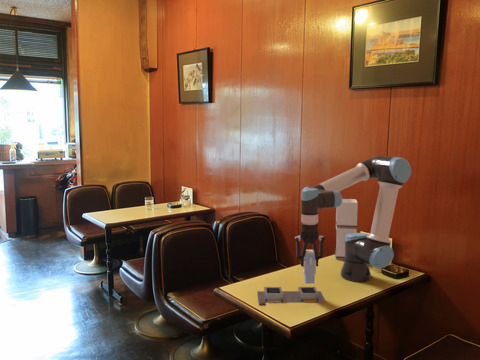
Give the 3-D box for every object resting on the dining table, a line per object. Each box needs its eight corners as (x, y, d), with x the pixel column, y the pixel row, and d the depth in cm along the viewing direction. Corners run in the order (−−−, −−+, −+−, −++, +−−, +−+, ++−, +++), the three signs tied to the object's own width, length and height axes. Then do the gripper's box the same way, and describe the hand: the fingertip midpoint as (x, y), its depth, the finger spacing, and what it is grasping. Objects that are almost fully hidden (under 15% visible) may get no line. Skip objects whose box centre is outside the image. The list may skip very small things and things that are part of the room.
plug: (312, 279, 178) (313, 249, 177) (315, 284, 173) (315, 253, 171) (304, 280, 178) (304, 249, 177) (306, 285, 173) (306, 253, 171)
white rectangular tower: (353, 255, 239) (355, 199, 235) (355, 260, 229) (357, 202, 224) (334, 254, 241) (336, 198, 237) (335, 259, 231) (337, 201, 227)
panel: (320, 293, 183) (320, 285, 183) (326, 304, 171) (326, 295, 171) (257, 293, 183) (257, 285, 183) (258, 304, 171) (258, 296, 171)
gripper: (326, 220, 177) (326, 269, 180) (289, 221, 177) (289, 270, 180) (330, 224, 169) (330, 275, 172) (291, 225, 169) (291, 276, 172)
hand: (309, 272), depth 176 cm, fingers closed on plug, 4 cm apart
